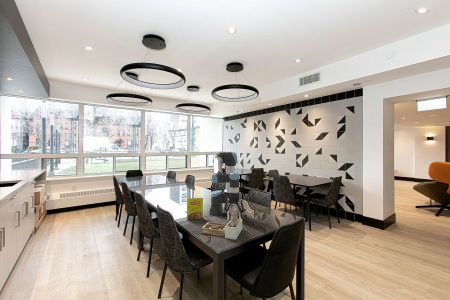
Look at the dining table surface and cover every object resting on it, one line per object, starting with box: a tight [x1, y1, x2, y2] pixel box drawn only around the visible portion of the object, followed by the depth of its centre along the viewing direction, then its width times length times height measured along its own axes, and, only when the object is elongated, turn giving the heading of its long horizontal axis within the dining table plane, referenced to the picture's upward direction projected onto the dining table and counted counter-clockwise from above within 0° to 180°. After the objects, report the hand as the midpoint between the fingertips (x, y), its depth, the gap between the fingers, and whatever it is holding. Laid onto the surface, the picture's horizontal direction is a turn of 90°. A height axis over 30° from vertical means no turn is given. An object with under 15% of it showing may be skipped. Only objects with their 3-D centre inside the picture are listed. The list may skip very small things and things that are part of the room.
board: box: [230, 207, 238, 227], centre depth 171 cm, size 2×12×18 cm, turn 162°
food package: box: [186, 197, 204, 220], centre depth 206 cm, size 15×1×20 cm, turn 106°
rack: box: [200, 221, 228, 237], centre depth 177 cm, size 16×19×4 cm
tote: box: [224, 218, 243, 240], centre depth 171 cm, size 21×9×9 cm, turn 162°
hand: (234, 219), depth 171 cm, fingers open, 9 cm apart
